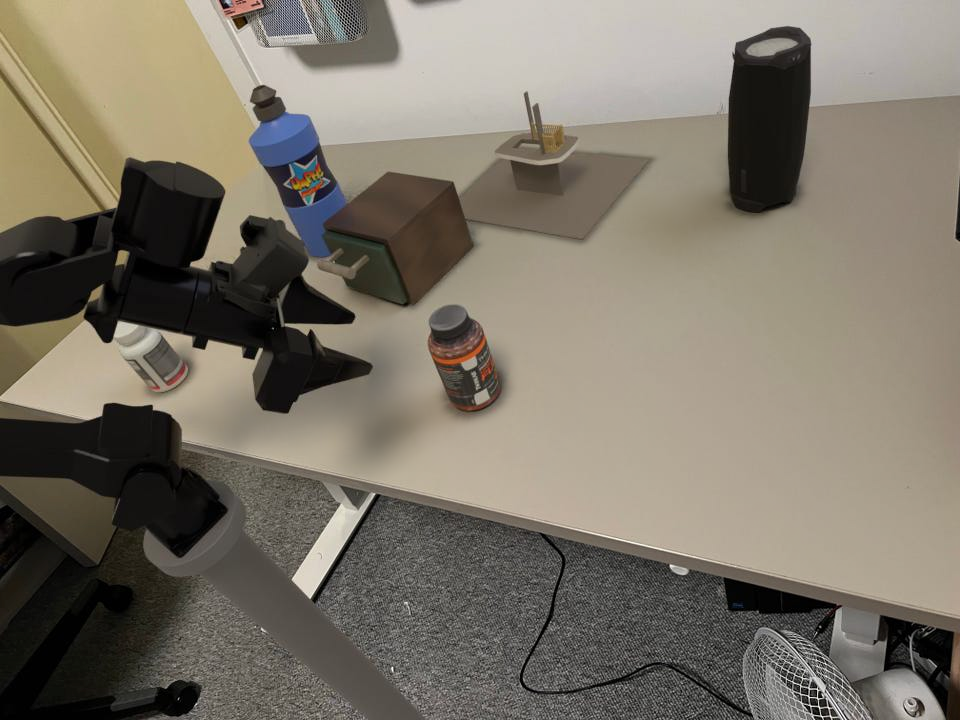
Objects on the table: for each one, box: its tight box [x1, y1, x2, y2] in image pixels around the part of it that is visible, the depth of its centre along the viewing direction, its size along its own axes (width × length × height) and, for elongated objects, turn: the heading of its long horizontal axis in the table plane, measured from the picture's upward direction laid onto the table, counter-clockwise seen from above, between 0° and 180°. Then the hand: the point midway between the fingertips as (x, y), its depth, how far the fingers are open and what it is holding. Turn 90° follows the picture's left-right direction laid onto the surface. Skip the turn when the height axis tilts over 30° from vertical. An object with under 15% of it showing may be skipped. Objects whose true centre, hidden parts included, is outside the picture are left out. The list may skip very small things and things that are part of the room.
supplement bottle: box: [427, 303, 501, 412], centre depth 66 cm, size 6×6×11 cm
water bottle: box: [248, 84, 348, 258], centre depth 94 cm, size 9×9×25 cm
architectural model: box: [459, 91, 649, 240], centre depth 93 cm, size 21×25×14 cm
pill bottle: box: [113, 321, 189, 393], centre depth 83 cm, size 5×5×10 cm
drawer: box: [316, 230, 408, 305], centre depth 86 cm, size 17×11×9 cm
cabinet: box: [322, 171, 474, 306], centre depth 87 cm, size 14×13×11 cm
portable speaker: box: [727, 25, 813, 213], centre depth 75 cm, size 9×9×20 cm
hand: (362, 342), depth 61 cm, fingers open, 8 cm apart
